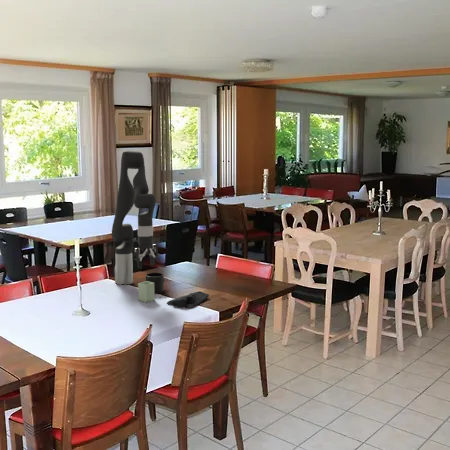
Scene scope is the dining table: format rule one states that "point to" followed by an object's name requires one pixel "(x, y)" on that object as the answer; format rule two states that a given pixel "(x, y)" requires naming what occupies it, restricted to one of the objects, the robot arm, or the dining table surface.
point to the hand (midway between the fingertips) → (146, 266)
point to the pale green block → (146, 291)
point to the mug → (156, 281)
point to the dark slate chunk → (189, 300)
